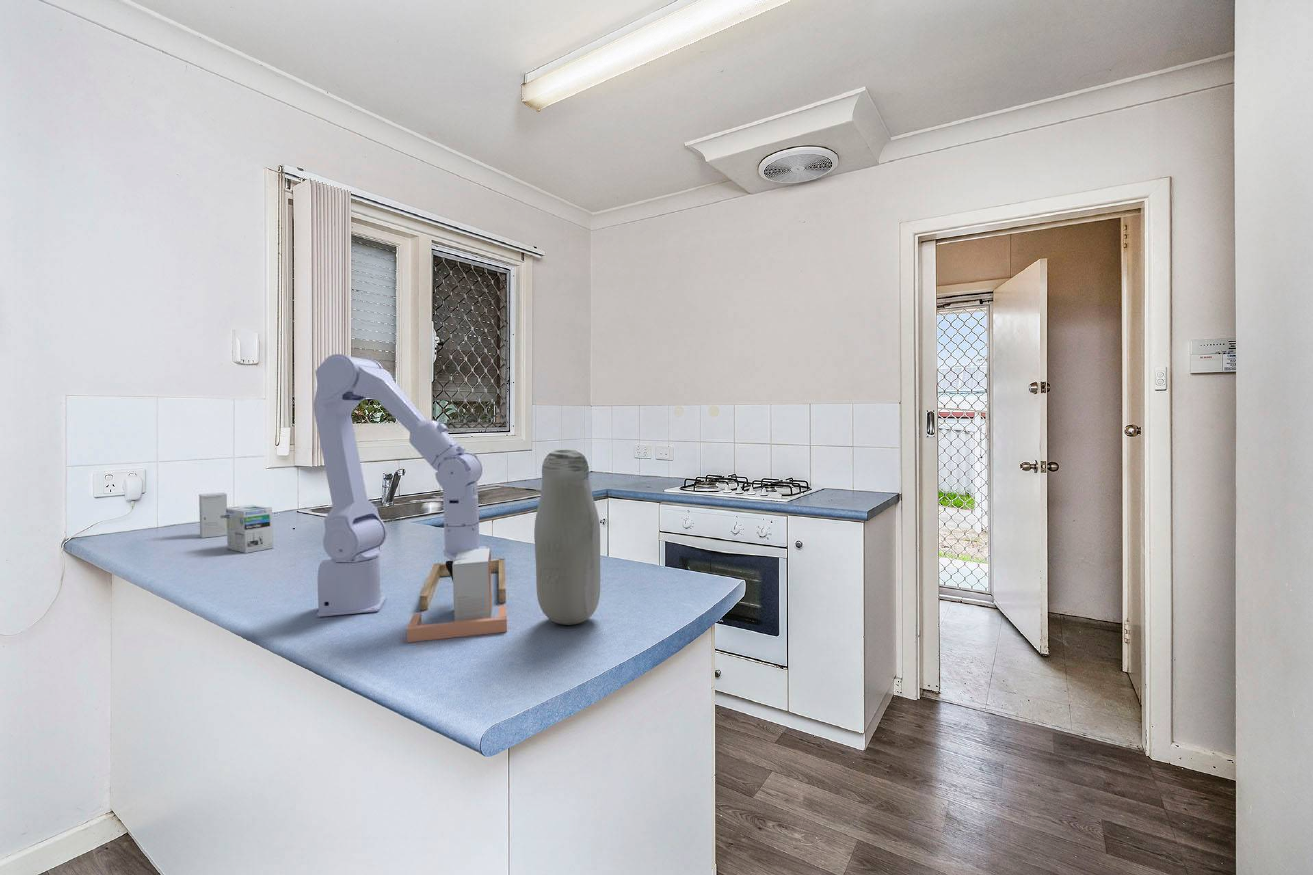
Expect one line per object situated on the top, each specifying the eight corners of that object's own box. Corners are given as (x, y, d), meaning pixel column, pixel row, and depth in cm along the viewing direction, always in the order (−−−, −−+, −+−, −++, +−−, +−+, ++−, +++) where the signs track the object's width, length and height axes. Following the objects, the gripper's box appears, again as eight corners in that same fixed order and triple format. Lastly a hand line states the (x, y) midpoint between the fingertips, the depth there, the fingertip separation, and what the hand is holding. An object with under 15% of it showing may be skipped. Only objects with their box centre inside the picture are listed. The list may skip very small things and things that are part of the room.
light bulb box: (274, 548, 149) (273, 506, 148) (245, 553, 143) (243, 510, 143) (255, 543, 155) (253, 503, 154) (226, 548, 149) (224, 507, 149)
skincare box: (201, 538, 162) (199, 495, 161) (199, 536, 165) (197, 494, 165) (228, 535, 166) (226, 493, 166) (226, 533, 169) (224, 491, 169)
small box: (490, 625, 93) (488, 561, 92) (454, 628, 91) (451, 564, 90) (493, 605, 101) (491, 547, 99) (459, 608, 99) (457, 549, 98)
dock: (407, 642, 86) (406, 629, 86) (413, 626, 92) (413, 614, 92) (506, 631, 90) (506, 618, 90) (506, 617, 96) (506, 605, 96)
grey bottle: (610, 615, 96) (608, 448, 95) (578, 637, 87) (575, 452, 86) (560, 607, 101) (557, 447, 99) (524, 627, 91) (521, 451, 90)
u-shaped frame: (420, 610, 100) (419, 596, 100) (434, 575, 122) (434, 563, 122) (505, 602, 104) (505, 588, 104) (504, 569, 126) (504, 558, 125)
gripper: (485, 529, 94) (487, 612, 94) (486, 515, 108) (488, 586, 108) (438, 533, 92) (441, 617, 92) (446, 517, 106) (448, 590, 106)
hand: (464, 601), depth 100 cm, fingers closed, pressing on small box
